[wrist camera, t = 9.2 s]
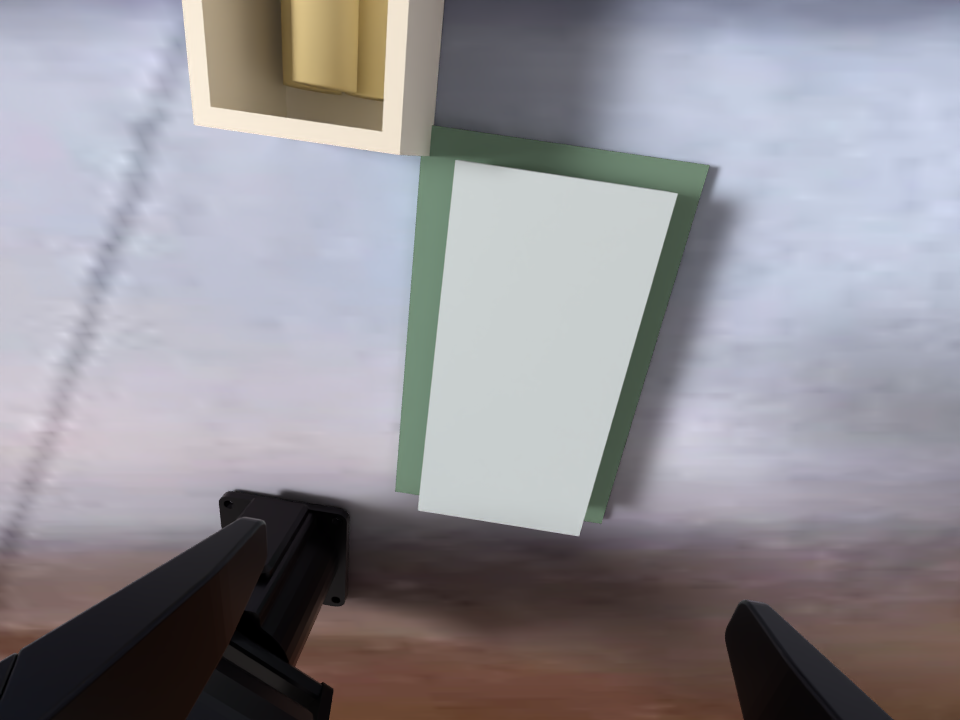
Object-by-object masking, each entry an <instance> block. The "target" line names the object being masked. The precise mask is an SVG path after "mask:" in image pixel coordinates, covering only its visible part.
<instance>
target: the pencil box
mask: <svg viewBox="0 0 960 720" xmlns="http://www.w3.org/2000/svg"><path fill="white" fill-rule="evenodd" d="M182 6H183V16H184V26H185V37H186V47H187V57H188V68H189V78H190V88H191V99H192V109H193V119H194V125H198V126H205V127H211V128H218V129H225V130H232V131H239V132H246V133H253V134H260V135H266V136H273V137H280V138H287V139H294V140H301V141H308V142H314V143H321V144H328V145H335V146H342V147H349V148H356V149H362V150H369V151H376V152H383V153H390V154H397V155H412V156H429V154H430V142H431V130H432V125H434V118H435V106H436V94H437V82H438V70H439V58H440V47H441V35H442V23H443V11H444V0H182Z"/></svg>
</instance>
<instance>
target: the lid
mask: <svg viewBox="0 0 960 720" xmlns="http://www.w3.org/2000/svg"><path fill="white" fill-rule="evenodd" d="M677 195H678V193H673V192H668V191H662V190H656V189H649V188H642V187H636V186H629V185H622V184H616V183H609V182H603V181H596V180H589V179H583V178H576V177H569V176H563V175H556V174H549V173H543V172H536V171H529V170H523V169H516V168H510V167H503V166H496V165H490V164H483V163H476V162H470V161H463V160H455V169H454V178H453V187H452V197H451V206H450V215H449V224H448V234H447V243H446V252H445V262H444V271H443V280H442V289H441V299H440V308H439V317H438V326H437V336H436V345H435V354H434V364H433V373H432V382H431V391H430V401H429V410H428V419H427V429H426V438H425V447H424V456H423V466H422V475H421V484H420V494H419V503H418V511H424V512H431V513H437V514H443V515H449V516H455V517H462V518H468V519H474V520H480V521H487V522H493V523H499V524H505V525H512V526H518V527H524V528H530V529H536V530H543V531H549V532H555V533H561V534H568V535H574V536H579V535H580V531H581V528H582V524H583V521H584V517H585V514H586V510H587V507H588V503H589V500H590V496H591V493H592V490H593V486H594V483H595V479H596V476H597V472H598V469H599V465H600V462H601V458H602V455H603V451H604V448H605V444H606V441H607V438H608V434H609V431H610V427H611V424H612V420H613V417H614V413H615V410H616V406H617V403H618V399H619V396H620V392H621V389H622V385H623V382H624V379H625V375H626V372H627V368H628V365H629V361H630V358H631V354H632V351H633V347H634V344H635V340H636V337H637V333H638V330H639V327H640V323H641V320H642V316H643V313H644V309H645V306H646V302H647V299H648V295H649V292H650V288H651V285H652V281H653V278H654V274H655V271H656V268H657V264H658V261H659V257H660V254H661V250H662V247H663V243H664V240H665V236H666V233H667V229H668V226H669V222H670V219H671V216H672V212H673V209H674V205H675V202H676V198H677Z"/></svg>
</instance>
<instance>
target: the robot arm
mask: <svg viewBox="0 0 960 720" xmlns="http://www.w3.org/2000/svg"><path fill="white" fill-rule="evenodd" d="M230 501H231V502H232V503H231V502H230ZM219 509H220V518H221V527H222V529H221V530H219V531H218V532H216V533H214V534H213V535H211V536H209V537H208V538H206V539H204V540H203V541H201V542H199V543H198V544H196V545H194V546H193V547H191V548H189V549H188V550H186V551H184V552H183V553H181V554H179V555H178V556H176V557H174V558H173V559H171V560H169V561H168V562H166V563H164V564H163V565H161V566H159V567H157V568H156V569H154V570H152V571H151V572H149V573H147V574H146V575H144V576H142V577H141V578H139V579H137V580H136V581H134V582H132V583H131V584H129V585H127V586H126V587H124V588H122V589H121V590H119V591H117V592H116V593H114V594H112V595H111V596H109V597H107V598H106V599H104V600H102V601H101V602H99V603H97V604H96V605H94V606H92V607H91V608H89V609H87V610H86V611H84V612H82V613H81V614H79V615H77V616H76V617H74V618H72V619H71V620H69V621H67V622H66V623H64V624H62V625H61V626H59V627H57V628H56V629H54V630H52V631H51V632H49V633H47V634H46V635H44V636H42V637H41V638H39V639H37V640H35V641H34V642H32V643H30V644H29V645H27V646H25V647H24V648H22V649H21V650H20V651H19V653H18V654H17V653H14V654H12V655H10V656H8V657H7V658H5V659H3V660H2V661H0V720H329V715H330V709H331V703H332V696H333V688H331V687H330V686H328V685H327V684H325V683H324V682H322V683H321V684H320V683H319V682H317V681H316V680H314V679H313V678H311V677H310V676H308V675H306V674H305V673H303V672H302V671H300V670H299V669H297V668H296V667H295V665H296V663H297V661H298V659H299V656H300V654H301V652H302V650H303V647H304V645H305V643H306V640H307V638H308V636H309V634H310V631H311V629H312V627H313V625H314V622H315V620H316V618H317V615H318V613H319V611H320V609H321V606H322V604H324V605H330V606H342V605H343V604H344V603H345V600H346V598H347V589H348V555H349V521H350V517H349V514H348V513H347V511H345V510H344V509H341V508H335V507H328V506H322V505H316V504H309V503H303V502H297V501H290V500H284V499H277V498H271V497H265V496H258V495H252V494H246V493H239V492H233V491H229V492H226V493H225V494H224V495H223V496H222V497H221V499H220V500H219ZM337 518H340V519H341V520H338V519H337ZM725 641H726V646H727V651H728V655H729V659H730V663H731V668H732V672H733V676H734V680H735V685H736V689H737V693H738V697H739V701H740V706H741V710H742V714H743V718H744V720H893V719H892V718H891V717H890V716H889V715H888V714H887V713H886V712H885V711H883V710H882V709H881V708H880V707H879V706H878V705H877V704H876V703H875V702H874V701H873V700H871V699H870V698H869V697H868V696H867V695H866V694H865V693H864V692H863V691H862V690H861V689H859V688H858V687H857V686H856V685H855V684H854V683H853V682H852V681H851V680H850V679H849V678H847V677H846V676H845V675H844V674H843V673H842V672H841V671H840V670H839V669H838V668H837V667H835V666H834V665H833V664H832V663H831V662H830V661H829V660H828V659H827V658H826V657H825V656H823V655H822V654H821V653H820V652H819V651H818V650H817V649H816V648H815V647H814V646H813V645H811V644H810V643H809V642H808V641H807V640H806V639H805V638H804V637H803V636H802V635H801V634H799V633H798V632H797V631H796V630H795V629H794V628H793V627H792V626H791V625H790V624H789V623H788V622H786V621H785V620H784V619H783V618H782V617H781V616H780V615H779V614H778V613H777V612H776V611H774V610H773V609H772V608H771V607H770V606H769V605H767V604H765V603H763V602H757V601H751V600H742V601H741V602H740V603H739V604H738V606H737V608H736V610H735V612H734V614H733V616H732V618H731V620H730V622H729V624H728V626H727V628H726V632H725Z"/></svg>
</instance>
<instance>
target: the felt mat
mask: <svg viewBox="0 0 960 720" xmlns="http://www.w3.org/2000/svg"><path fill="white" fill-rule="evenodd" d="M455 160H463V161H470V162H476V163H483V164H490V165H496V166H503V167H510V168H516V169H523V170H529V171H536V172H543V173H549V174H556V175H563V176H569V177H576V178H583V179H589V180H596V181H603V182H609V183H616V184H622V185H629V186H636V187H642V188H649V189H656V190H662V191H668V192H673V193H678V195H677V198H676V202H675V205H674V209H673V212H672V216H671V219H670V222H669V226H668V229H667V233H666V236H665V240H664V243H663V247H662V250H661V254H660V257H659V261H658V264H657V268H656V271H655V274H654V278H653V281H652V285H651V288H650V292H649V295H648V299H647V302H646V306H645V309H644V313H643V316H642V320H641V323H640V327H639V330H638V333H637V337H636V340H635V344H634V347H633V351H632V354H631V358H630V361H629V365H628V368H627V372H626V375H625V379H624V382H623V385H622V389H621V392H620V396H619V399H618V403H617V406H616V410H615V413H614V417H613V420H612V424H611V427H610V431H609V434H608V438H607V441H606V444H605V448H604V451H603V455H602V458H601V462H600V465H599V469H598V472H597V476H596V479H595V483H594V486H593V490H592V493H591V496H590V500H589V503H588V507H587V510H586V514H585V517H584V521H587V522H593V523H600V524H601V523H602V520H603V516H604V513H605V510H606V506H607V503H608V500H609V496H610V493H611V490H612V487H613V483H614V480H615V477H616V473H617V470H618V467H619V463H620V460H621V457H622V453H623V450H624V447H625V444H626V440H627V437H628V434H629V430H630V427H631V424H632V420H633V417H634V414H635V411H636V407H637V404H638V401H639V397H640V394H641V391H642V387H643V384H644V381H645V377H646V374H647V371H648V368H649V364H650V361H651V358H652V354H653V351H654V348H655V344H656V341H657V338H658V334H659V331H660V328H661V325H662V321H663V318H664V315H665V311H666V308H667V305H668V301H669V298H670V295H671V292H672V288H673V285H674V282H675V278H676V275H677V272H678V268H679V265H680V262H681V258H682V255H683V252H684V249H685V245H686V242H687V239H688V235H689V232H690V229H691V225H692V222H693V219H694V215H695V212H696V209H697V206H698V202H699V199H700V196H701V192H702V189H703V186H704V182H705V179H706V176H707V173H708V169H709V166H710V165H704V164H697V163H690V162H683V161H676V160H669V159H662V158H655V157H648V156H641V155H634V154H627V153H621V152H614V151H607V150H600V149H593V148H586V147H579V146H572V145H565V144H558V143H551V142H544V141H538V140H531V139H524V138H517V137H510V136H503V135H496V134H489V133H482V132H475V131H468V130H461V129H455V128H448V127H441V126H434V125H432V130H431V142H430V154H429V156H421V162H420V175H419V188H418V201H417V214H416V227H415V240H414V253H413V266H412V280H411V293H410V306H409V319H408V332H407V345H406V358H405V371H404V384H403V397H402V410H401V423H400V436H399V449H398V462H397V476H396V489H395V492H402V493H408V494H415V495H419V494H420V484H421V475H422V466H423V456H424V447H425V438H426V429H427V419H428V410H429V401H430V391H431V382H432V373H433V364H434V354H435V345H436V336H437V326H438V317H439V308H440V299H441V289H442V280H443V271H444V262H445V252H446V243H447V234H448V224H449V215H450V206H451V197H452V187H453V178H454V169H455Z"/></svg>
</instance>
